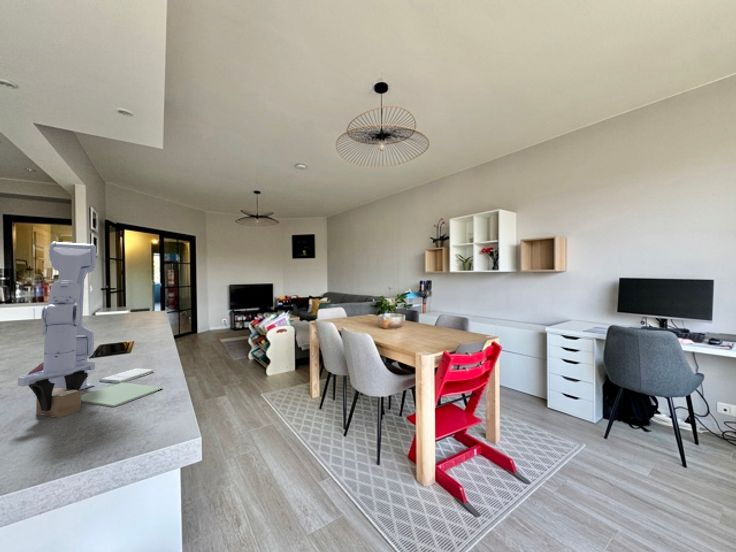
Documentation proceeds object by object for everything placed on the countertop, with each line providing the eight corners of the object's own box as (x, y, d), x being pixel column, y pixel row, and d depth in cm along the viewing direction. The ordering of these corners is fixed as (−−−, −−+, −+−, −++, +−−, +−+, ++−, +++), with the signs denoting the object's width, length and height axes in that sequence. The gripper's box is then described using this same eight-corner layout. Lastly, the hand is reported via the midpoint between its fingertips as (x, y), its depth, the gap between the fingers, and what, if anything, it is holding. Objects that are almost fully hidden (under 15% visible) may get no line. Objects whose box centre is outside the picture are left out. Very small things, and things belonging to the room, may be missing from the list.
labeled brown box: (36, 413, 76) (36, 392, 76) (58, 406, 80) (59, 386, 81) (58, 418, 74) (59, 396, 74) (80, 410, 78) (81, 389, 78)
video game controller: (50, 385, 101) (64, 364, 103) (32, 382, 97) (47, 360, 100) (42, 380, 106) (55, 359, 109) (24, 377, 102) (39, 356, 105)
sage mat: (70, 400, 85) (70, 398, 85) (122, 383, 98) (122, 382, 98) (113, 407, 80) (113, 405, 80) (162, 389, 94) (162, 387, 94)
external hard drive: (153, 374, 111) (119, 385, 99) (134, 372, 112) (99, 383, 100) (154, 369, 111) (119, 380, 99) (135, 368, 112) (99, 378, 100)
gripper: (33, 359, 69) (31, 420, 69) (103, 346, 83) (102, 397, 83) (12, 357, 71) (10, 416, 71) (84, 345, 85) (83, 394, 85)
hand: (58, 406), depth 77 cm, fingers closed on labeled brown box, 4 cm apart
